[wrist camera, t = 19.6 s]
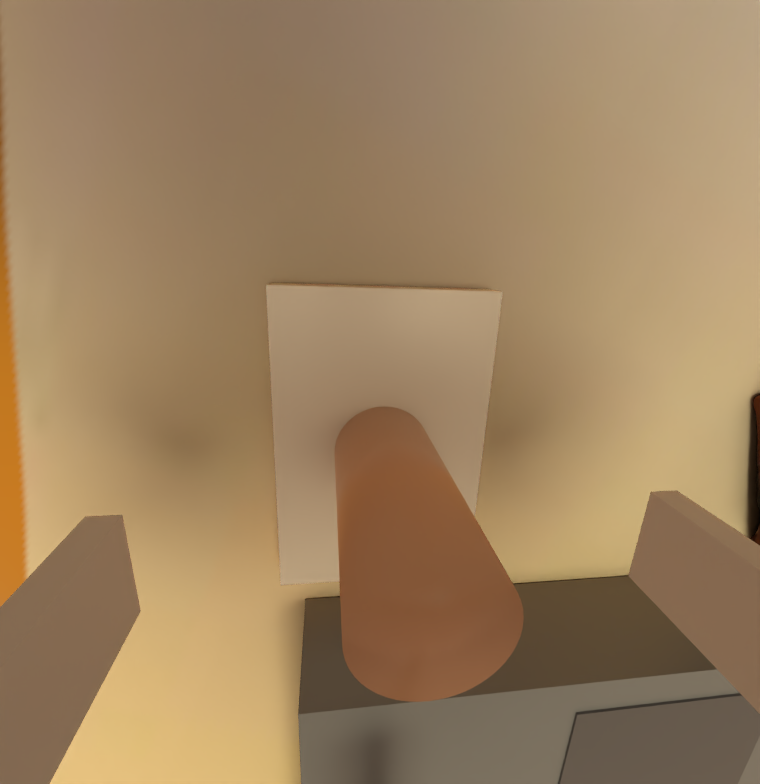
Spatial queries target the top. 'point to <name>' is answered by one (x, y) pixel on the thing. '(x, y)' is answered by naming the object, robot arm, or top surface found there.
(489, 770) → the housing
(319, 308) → the cover
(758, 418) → the electronic device
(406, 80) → the top surface
